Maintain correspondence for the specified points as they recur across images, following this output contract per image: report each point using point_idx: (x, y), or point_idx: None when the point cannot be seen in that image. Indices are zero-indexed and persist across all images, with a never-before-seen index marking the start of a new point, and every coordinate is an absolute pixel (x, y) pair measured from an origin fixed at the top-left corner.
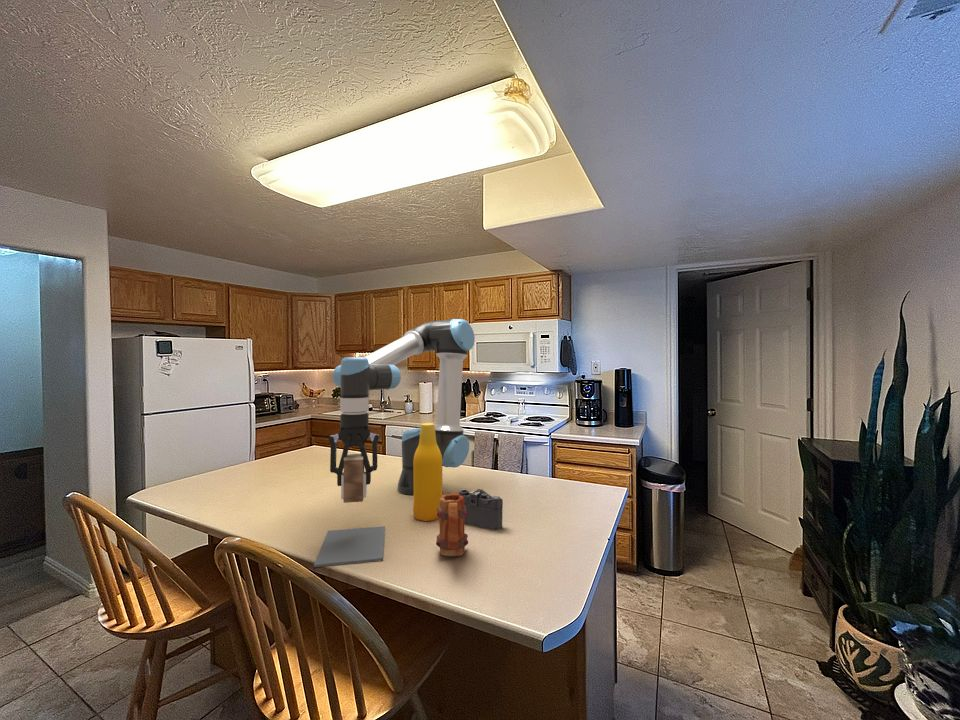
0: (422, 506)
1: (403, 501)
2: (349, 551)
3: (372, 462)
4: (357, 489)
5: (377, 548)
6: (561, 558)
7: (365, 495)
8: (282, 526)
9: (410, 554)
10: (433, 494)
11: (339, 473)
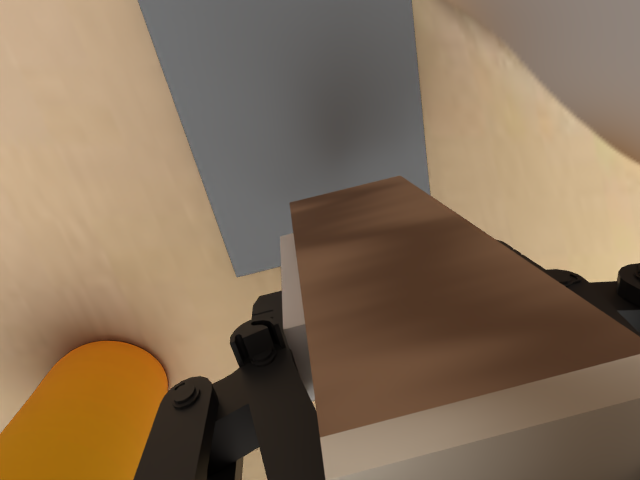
0: (91, 377)
1: (250, 469)
2: (296, 43)
3: (198, 462)
4: (331, 220)
5: (189, 73)
6: None
7: (281, 240)
8: (586, 263)
9: (32, 39)
10: (7, 431)
11: (549, 274)
